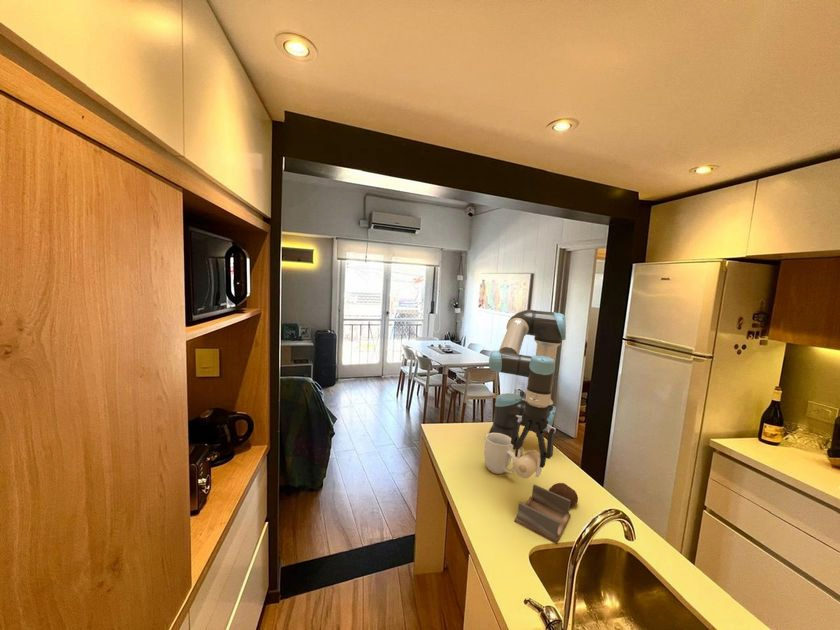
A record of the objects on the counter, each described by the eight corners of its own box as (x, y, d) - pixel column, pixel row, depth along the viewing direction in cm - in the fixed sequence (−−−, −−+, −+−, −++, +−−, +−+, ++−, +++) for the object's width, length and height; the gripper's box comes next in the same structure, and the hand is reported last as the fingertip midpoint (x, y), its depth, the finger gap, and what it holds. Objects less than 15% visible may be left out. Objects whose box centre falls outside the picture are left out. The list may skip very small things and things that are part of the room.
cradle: (531, 498, 119) (533, 482, 118) (570, 516, 111) (572, 499, 110) (514, 521, 106) (516, 503, 105) (556, 543, 98) (559, 524, 98)
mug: (523, 478, 131) (527, 446, 130) (503, 485, 125) (508, 452, 124) (495, 459, 144) (499, 430, 142) (476, 465, 137) (480, 435, 136)
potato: (581, 511, 114) (584, 492, 114) (551, 508, 114) (554, 489, 114) (572, 498, 121) (575, 480, 121) (543, 495, 121) (546, 477, 121)
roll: (525, 464, 117) (526, 447, 117) (543, 470, 113) (543, 452, 113) (513, 475, 109) (514, 456, 109) (531, 481, 105) (532, 462, 105)
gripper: (505, 397, 112) (497, 463, 114) (563, 415, 101) (553, 488, 102) (514, 393, 118) (506, 456, 120) (570, 410, 106) (560, 479, 108)
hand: (528, 470), depth 111 cm, fingers closed on roll, 6 cm apart
